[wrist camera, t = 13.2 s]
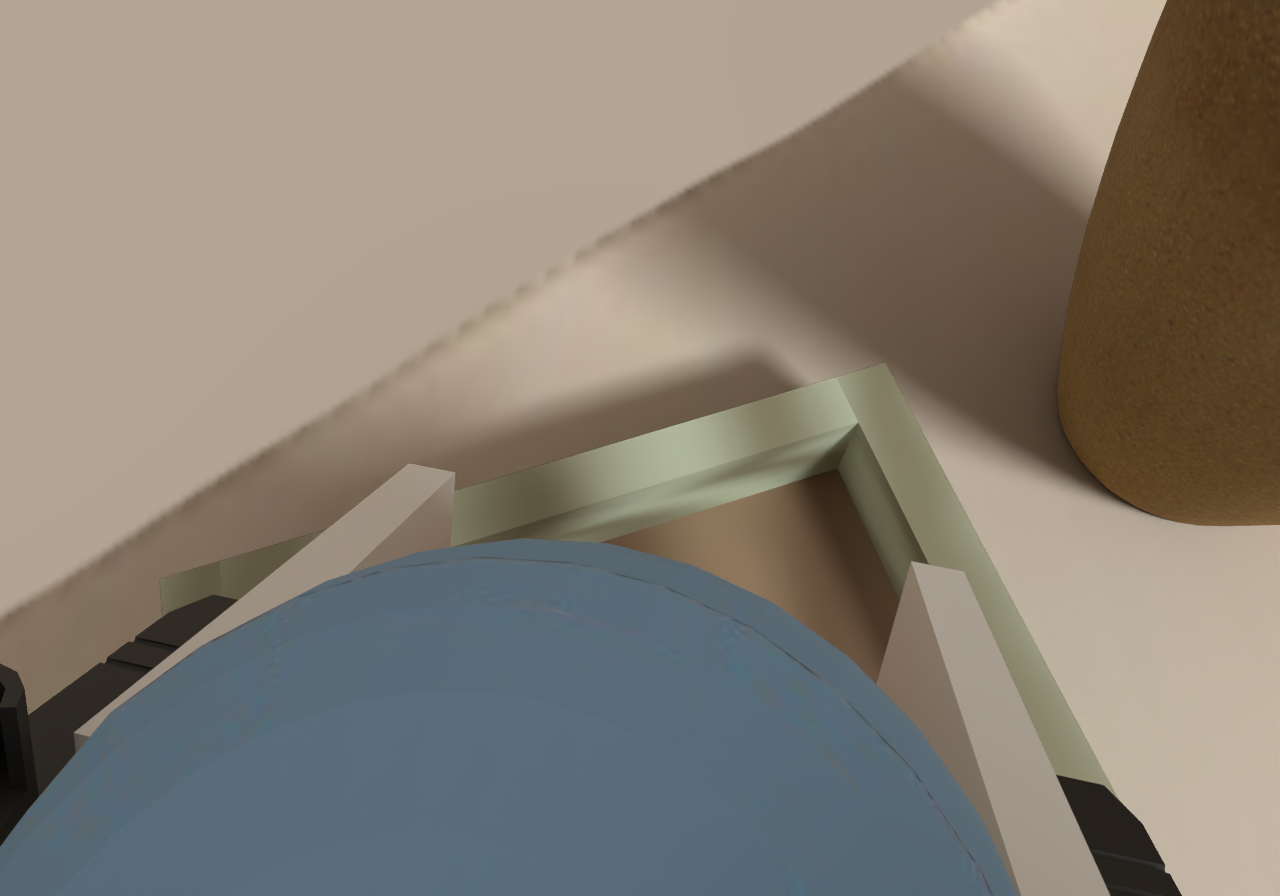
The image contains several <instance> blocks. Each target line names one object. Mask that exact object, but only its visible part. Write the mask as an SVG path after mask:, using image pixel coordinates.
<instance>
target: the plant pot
mask: <svg viewBox="0 0 1280 896" xmlns="http://www.w3.org/2000/svg"><path fill="white" fill-rule="evenodd" d="M1057 403H1058V414H1059V418H1060V421H1061V424H1062V428H1063V430H1064V433H1065V435H1066V437H1067V439H1068V441H1069V443H1070V445H1071V447H1072V448H1073V450H1074V451H1075V453H1076V455H1077V456H1078V458H1079V459H1080V460H1081V462H1082V463H1083V464H1084V465H1085V466H1086V467H1087V469H1088V470H1089V471H1090V472H1091V473H1092V474H1093V475H1094V476H1095V477H1096V478H1097V479H1098V480H1099V481H1100V482H1101V483H1102V484H1103V485H1104V486H1105V487H1106V488H1107V489H1109V490H1110V491H1112V492H1113V493H1114V494H1116V495H1117V496H1119V497H1120V498H1122V499H1123V500H1125V501H1127V502H1128V503H1130V504H1132V505H1134V506H1136V507H1138V508H1140V509H1142V510H1144V511H1146V512H1149V513H1151V514H1153V515H1156V516H1159V517H1162V518H1165V519H1168V520H1172V521H1175V522H1180V523H1187V524H1193V525H1203V526H1250V525H1280V0H1167V2H1166V4H1165V7H1164V9H1163V11H1162V14H1161V16H1160V19H1159V21H1158V23H1157V26H1156V28H1155V31H1154V34H1153V36H1152V39H1151V41H1150V44H1149V47H1148V49H1147V52H1146V54H1145V57H1144V60H1143V62H1142V65H1141V68H1140V70H1139V73H1138V76H1137V78H1136V81H1135V84H1134V86H1133V89H1132V92H1131V95H1130V97H1129V100H1128V103H1127V105H1126V108H1125V111H1124V114H1123V116H1122V119H1121V122H1120V124H1119V127H1118V130H1117V133H1116V136H1115V139H1114V142H1113V145H1112V148H1111V151H1110V154H1109V157H1108V160H1107V163H1106V166H1105V169H1104V172H1103V176H1102V179H1101V182H1100V185H1099V189H1098V192H1097V195H1096V198H1095V202H1094V205H1093V208H1092V212H1091V215H1090V218H1089V222H1088V225H1087V229H1086V233H1085V237H1084V241H1083V244H1082V248H1081V252H1080V256H1079V260H1078V264H1077V268H1076V273H1075V277H1074V281H1073V286H1072V290H1071V295H1070V300H1069V305H1068V310H1067V316H1066V322H1065V328H1064V334H1063V342H1062V350H1061V358H1060V365H1059V375H1058V386H1057Z"/></svg>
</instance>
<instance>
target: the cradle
mask: <svg viewBox="0 0 1280 896" xmlns="http://www.w3.org/2000/svg"><path fill="white" fill-rule="evenodd" d="M324 531H325V530H322V531H319V532H316V533H312V534H309V535H306V536H302V537H299V538H295V539H292V540H289V541H285V542H282V543H279V544H275V545H272V546H269V547H265V548H262V549H259V550H255V551H252V552H249V553H245V554H242V555H239V556H235V557H232V558H228V559H225V560H222V561H218V562H215V563H212V564H208V565H205V566H202V567H198V568H195V569H192V570H188V571H185V572H182V573H178V574H175V575H172V576H168V577H165V578H161V579H160V593H161V607H162V617H163V616H165V615H166V614H167V613H169V612H171V611H173V610H176V609H178V608H181V607H183V606H186V605H188V604H191V603H193V602H196V601H198V600H201V599H203V598H206V597H208V596H211V595H213V594H214V595H218V596H223V597H227V598H232V599H237V600H239V599H241V598H242V597H243V596H244V595H246V594H247V593H248V592H249V591H251V590H252V589H253V588H254V587H256V586H257V585H258V584H259V583H261V582H262V581H263V580H264V579H266V578H267V577H268V576H269V575H271V574H272V573H273V572H274V571H275V570H277V569H278V568H279V567H280V566H282V565H283V564H284V563H285V562H287V561H288V560H289V559H290V558H292V557H293V556H294V555H295V554H297V553H298V552H299V551H300V550H302V549H303V548H304V547H305V546H307V545H308V544H309V543H310V542H312V541H313V540H314V539H315V538H317V537H318V536H319V535H320V534H322V533H323V532H324ZM521 538H529V539H545V540H561V541H577V542H593V543H609V544H613V545H617V546H621V547H624V548H628V549H632V550H636V551H640V552H644V553H648V554H652V555H656V556H660V557H664V558H668V559H671V560H675V561H679V562H683V563H687V564H691V565H694V566H696V567H698V568H700V569H702V570H704V571H707V572H709V573H711V574H713V575H715V576H717V577H719V578H722V579H724V580H726V581H728V582H730V583H732V584H734V585H736V586H739V587H741V588H743V589H745V590H747V591H749V592H751V593H754V594H756V595H758V596H760V597H762V598H764V599H766V600H769V601H771V602H773V603H774V604H776V605H777V606H778V607H780V608H781V609H783V610H784V611H785V612H787V613H788V614H790V615H791V616H792V617H794V618H795V619H797V620H798V621H799V622H801V623H802V624H804V625H805V626H806V627H808V628H809V629H811V630H812V631H813V632H815V633H816V634H818V635H819V636H820V637H822V638H823V639H825V640H826V641H827V642H829V643H830V644H832V645H833V646H834V647H836V648H837V649H839V650H840V651H841V652H843V653H844V654H846V655H847V656H848V657H850V658H851V659H852V660H853V661H854V662H855V663H856V664H857V665H858V666H859V668H860V669H861V670H862V671H863V672H864V673H865V674H866V675H867V676H868V677H869V678H870V679H871V680H872V681H873V682H874V683H875V684H877V680H878V677H879V673H880V670H881V666H882V663H883V659H884V656H885V652H886V648H887V645H888V641H889V638H890V634H891V631H892V627H893V624H894V620H895V617H896V613H897V610H898V606H899V602H900V599H901V595H902V592H903V588H904V585H905V581H906V578H907V574H908V571H909V567H910V563H911V561H913V562H918V563H923V564H928V565H933V566H938V567H943V568H949V569H954V570H959V571H964V573H965V575H966V577H967V579H968V582H969V584H970V586H971V588H972V590H973V593H974V595H975V597H976V599H977V601H978V604H979V606H980V608H981V610H982V613H983V615H984V617H985V619H986V621H987V624H988V626H989V628H990V630H991V633H992V635H993V637H994V639H995V641H996V644H997V646H998V648H999V650H1000V652H1001V655H1002V657H1003V659H1004V661H1005V664H1006V666H1007V668H1008V670H1009V672H1010V675H1011V677H1012V679H1013V681H1014V683H1015V686H1016V688H1017V690H1018V692H1019V695H1020V697H1021V699H1022V701H1023V703H1024V706H1025V708H1026V710H1027V712H1028V714H1029V717H1030V719H1031V721H1032V723H1033V726H1034V728H1035V730H1036V732H1037V734H1038V737H1039V739H1040V741H1041V743H1042V746H1043V748H1044V750H1045V752H1046V754H1047V757H1048V759H1049V761H1050V763H1051V765H1052V768H1053V770H1054V772H1055V774H1056V775H1060V776H1065V777H1069V778H1074V779H1078V780H1083V781H1088V782H1092V783H1097V784H1101V785H1104V786H1105V787H1106V788H1107V789H1108V790H1109V791H1110V792H1111V793H1112V794H1113V795H1114V796H1115V797H1116V798H1117V796H1116V794H1115V792H1114V790H1113V788H1112V786H1111V785H1110V783H1109V781H1108V779H1107V777H1106V775H1105V773H1104V771H1103V770H1102V768H1101V766H1100V764H1099V762H1098V760H1097V758H1096V756H1095V754H1094V753H1093V751H1092V749H1091V747H1090V745H1089V743H1088V741H1087V739H1086V738H1085V736H1084V734H1083V732H1082V730H1081V728H1080V726H1079V724H1078V723H1077V721H1076V719H1075V717H1074V715H1073V713H1072V711H1071V709H1070V708H1069V706H1068V704H1067V702H1066V700H1065V698H1064V696H1063V694H1062V693H1061V691H1060V689H1059V687H1058V685H1057V683H1056V681H1055V679H1054V678H1053V676H1052V674H1051V672H1050V670H1049V668H1048V666H1047V664H1046V663H1045V661H1044V659H1043V657H1042V655H1041V653H1040V651H1039V649H1038V648H1037V646H1036V644H1035V642H1034V640H1033V638H1032V636H1031V634H1030V633H1029V631H1028V629H1027V627H1026V625H1025V623H1024V621H1023V619H1022V618H1021V616H1020V614H1019V612H1018V610H1017V608H1016V606H1015V604H1014V603H1013V601H1012V599H1011V597H1010V595H1009V593H1008V591H1007V589H1006V588H1005V586H1004V584H1003V582H1002V580H1001V578H1000V576H999V574H998V573H997V571H996V569H995V567H994V565H993V563H992V561H991V559H990V558H989V556H988V554H987V552H986V550H985V548H984V546H983V544H982V543H981V541H980V539H979V537H978V535H977V533H976V531H975V529H974V528H973V526H972V524H971V522H970V520H969V518H968V516H967V514H966V513H965V511H964V509H963V507H962V505H961V503H960V501H959V499H958V498H957V496H956V494H955V492H954V490H953V488H952V486H951V484H950V483H949V481H948V479H947V477H946V475H945V473H944V471H943V469H942V468H941V466H940V464H939V462H938V460H937V458H936V456H935V454H934V453H933V451H932V449H931V447H930V445H929V443H928V441H927V439H926V438H925V436H924V434H923V432H922V430H921V428H920V426H919V424H918V423H917V421H916V419H915V417H914V415H913V413H912V411H911V409H910V408H909V406H908V404H907V402H906V400H905V398H904V396H903V394H902V393H901V391H900V389H899V387H898V385H897V383H896V381H895V379H894V378H893V376H892V374H891V372H890V370H889V368H888V366H887V364H886V363H882V364H878V365H875V366H872V367H868V368H865V369H862V370H858V371H855V372H852V373H848V374H845V375H842V376H838V377H835V378H831V379H828V380H825V381H821V382H818V383H815V384H811V385H808V386H805V387H801V388H798V389H795V390H791V391H788V392H785V393H781V394H778V395H775V396H771V397H768V398H764V399H761V400H758V401H754V402H751V403H748V404H744V405H741V406H738V407H734V408H731V409H728V410H724V411H721V412H718V413H714V414H711V415H708V416H704V417H701V418H697V419H694V420H691V421H687V422H684V423H681V424H677V425H674V426H671V427H667V428H664V429H661V430H657V431H654V432H651V433H647V434H644V435H641V436H637V437H634V438H630V439H627V440H624V441H620V442H617V443H614V444H610V445H607V446H604V447H600V448H597V449H594V450H590V451H587V452H584V453H580V454H577V455H574V456H570V457H567V458H563V459H560V460H557V461H553V462H550V463H547V464H543V465H540V466H537V467H533V468H530V469H527V470H523V471H520V472H517V473H513V474H510V475H507V476H503V477H500V478H496V479H493V480H490V481H486V482H483V483H480V484H476V485H473V486H470V487H466V488H463V489H460V490H456V491H454V501H453V516H452V530H451V545H450V547H457V546H465V545H473V544H481V543H489V542H497V541H505V540H513V539H521ZM1117 799H1118V798H1117Z"/></svg>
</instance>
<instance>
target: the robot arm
mask: <svg viewBox="0 0 1280 896" xmlns="http://www.w3.org/2000/svg"><path fill="white" fill-rule="evenodd" d="M454 487H455V472H451V471H446V470H441V469H436V468H431V467H426V466H421V465H415V464H410V463H409V464H407V465H406V466H405V467H404V468H402V469H401V470H400V471H399V472H397V473H396V474H395V475H394V476H392V477H391V478H390V479H389V480H387V481H386V482H385V483H384V484H382V485H381V486H380V487H379V488H378V489H376V490H375V491H374V492H373V493H371V494H370V495H369V496H368V497H366V498H365V499H364V500H363V501H361V502H360V503H359V504H358V505H356V506H355V507H354V508H353V509H351V510H350V511H349V512H348V513H346V514H345V515H344V516H343V517H341V518H340V519H339V520H338V521H336V522H335V523H334V524H333V525H331V526H330V527H329V528H328V529H326V530H325V531H324V532H323V533H322V534H320V535H319V536H318V537H317V538H315V539H314V540H313V541H312V542H310V543H309V544H308V545H307V546H305V547H304V548H303V549H302V550H300V551H299V552H298V553H297V554H295V555H294V556H293V557H292V558H290V559H289V560H288V561H287V562H285V563H284V564H283V565H282V566H280V567H279V568H278V569H277V570H275V571H274V572H273V573H272V574H271V575H269V576H268V577H267V578H266V579H264V580H263V581H262V582H261V583H259V584H258V585H257V586H256V587H254V588H253V589H252V590H251V591H249V592H248V593H247V594H246V595H244V596H243V597H242V598H241V599H239V600H237V599H232V598H227V597H223V596H218V595H214V594H213V595H211V596H208V597H206V598H203V599H201V600H198V601H196V602H193V603H191V604H188V605H186V606H183V607H181V608H178V609H176V610H173V611H171V612H169V613H167V614H166V615H165V616H163V617H162V618H160V619H159V620H158V621H156V622H155V623H154V624H152V625H151V626H149V627H148V628H147V629H145V630H144V631H143V632H141V633H140V634H139V635H137V636H136V638H135V641H134V642H128V643H126V644H125V645H124V646H122V647H121V648H119V649H118V650H117V651H115V652H114V653H113V654H111V655H110V656H109V657H107V661H106V663H105V664H103V663H99V664H98V665H96V666H95V667H93V668H92V669H91V670H89V671H88V672H87V673H85V674H84V675H83V676H81V677H80V678H78V679H77V680H76V681H74V682H73V683H72V684H70V685H69V686H68V687H66V688H65V689H63V690H62V691H61V692H59V693H58V694H57V695H55V696H54V697H52V698H51V699H50V700H48V701H47V702H46V703H44V704H43V705H42V706H40V707H39V708H37V709H36V710H35V711H33V712H32V713H31V714H29V715H28V712H27V705H26V697H25V690H24V686H23V684H22V682H21V680H20V677H19V675H18V673H17V672H16V671H14V670H12V669H10V668H8V667H6V666H4V665H2V664H0V846H1V845H2V844H3V842H4V841H5V840H6V838H7V837H8V836H9V834H10V833H11V832H12V830H13V829H14V828H15V826H16V825H17V824H18V822H19V821H20V820H21V818H22V817H23V815H24V814H25V813H26V812H27V810H28V809H29V808H30V807H31V806H32V804H33V803H34V802H35V801H36V800H37V799H38V797H39V796H40V795H41V794H42V793H43V791H44V790H45V789H46V788H47V787H48V786H49V784H50V783H51V782H52V781H53V780H54V778H55V777H56V776H57V775H58V774H59V773H60V771H61V770H62V769H63V768H64V767H65V765H66V764H67V763H68V762H69V761H70V760H71V758H72V757H73V756H74V755H75V754H76V752H77V751H78V750H79V749H80V748H81V747H82V745H83V744H84V743H85V742H86V741H87V739H88V738H89V737H90V736H91V735H92V734H93V732H94V731H95V730H96V729H97V728H98V726H99V725H100V724H101V723H102V722H103V721H104V719H105V718H106V717H107V716H108V715H109V713H110V712H112V711H113V710H114V709H116V708H117V707H118V706H120V705H121V704H123V703H124V702H125V701H127V700H128V699H129V698H131V697H132V696H133V695H135V694H136V693H137V692H139V691H140V690H142V689H143V688H144V687H146V686H147V685H148V684H150V683H151V682H152V681H154V680H155V679H157V678H158V677H159V676H161V675H162V674H163V673H165V672H166V671H167V670H169V669H170V668H172V667H173V666H174V665H176V664H177V663H178V662H180V661H181V660H182V659H184V658H185V657H186V656H188V655H189V654H191V653H192V652H193V651H195V650H196V649H197V648H199V647H200V646H202V645H204V644H206V643H207V642H209V641H211V640H213V639H215V638H217V637H219V636H221V635H223V634H225V633H227V632H229V631H231V630H233V629H235V628H236V627H238V626H239V625H241V624H243V623H245V622H247V621H249V620H251V619H253V618H255V617H257V616H259V615H261V614H263V613H265V612H267V611H269V610H271V609H273V608H275V607H277V606H278V605H280V604H282V603H284V602H286V601H288V600H290V599H292V598H294V597H296V596H298V595H300V594H302V593H304V592H306V591H308V590H310V589H312V588H314V587H315V586H317V585H319V584H321V583H323V582H325V581H328V580H331V579H334V578H337V577H340V576H344V575H347V574H350V573H353V572H356V571H359V570H363V569H366V568H369V567H372V566H375V565H379V564H382V563H385V562H388V561H391V560H395V559H398V558H401V557H404V556H407V555H411V554H414V553H417V552H423V551H429V550H434V549H441V548H449V547H450V545H451V530H452V516H453V501H454ZM876 685H877V686H878V687H879V688H880V689H881V690H882V691H883V692H884V693H885V694H886V695H887V696H888V697H889V698H890V699H891V700H892V701H893V702H894V703H895V704H896V705H897V706H898V708H899V709H900V710H901V711H902V712H903V713H904V714H905V715H906V716H907V717H908V718H909V719H910V720H911V721H912V722H913V723H914V724H915V725H916V726H917V727H918V728H919V729H920V730H921V732H922V733H923V735H924V736H925V737H926V739H927V740H928V742H929V743H930V745H931V746H932V748H933V749H934V751H935V752H936V753H937V755H938V756H939V758H940V759H941V761H942V762H943V764H944V765H945V766H946V768H947V769H948V771H949V772H950V774H951V775H952V777H953V778H954V780H955V781H956V782H957V784H958V785H959V787H960V788H961V790H962V791H963V793H964V794H965V796H966V797H967V798H968V800H969V801H970V803H971V804H972V806H973V807H974V809H975V810H976V811H977V813H978V814H979V816H980V817H981V819H982V820H983V822H984V824H985V827H986V829H987V831H988V833H989V835H990V837H991V839H992V841H993V844H994V846H995V848H996V850H997V852H998V854H999V856H1000V858H1001V860H1002V863H1003V865H1004V867H1005V869H1006V871H1007V873H1008V875H1009V877H1010V880H1011V882H1012V884H1013V886H1014V888H1015V890H1016V892H1017V894H1018V896H1182V895H1181V893H1180V891H1179V890H1178V888H1177V886H1176V884H1175V882H1174V881H1173V879H1172V877H1171V875H1170V874H1169V873H1165V864H1164V862H1163V861H1162V859H1161V857H1160V855H1159V853H1158V851H1157V850H1156V848H1155V846H1154V844H1153V842H1152V840H1151V839H1150V837H1149V835H1148V833H1147V831H1146V830H1145V828H1144V826H1143V824H1142V823H1141V822H1140V821H1139V820H1138V819H1137V818H1136V817H1135V816H1134V815H1133V814H1132V813H1131V812H1130V811H1129V810H1128V809H1127V808H1126V807H1125V806H1124V805H1123V804H1122V803H1121V802H1120V801H1119V800H1118V799H1117V798H1116V797H1115V796H1114V795H1113V794H1112V793H1111V792H1110V791H1109V790H1108V789H1107V788H1106V787H1105V786H1104V785H1101V784H1097V783H1092V782H1088V781H1083V780H1078V779H1074V778H1069V777H1065V776H1060V775H1056V774H1055V772H1054V770H1053V768H1052V765H1051V763H1050V761H1049V759H1048V757H1047V754H1046V752H1045V750H1044V748H1043V746H1042V743H1041V741H1040V739H1039V737H1038V734H1037V732H1036V730H1035V728H1034V726H1033V723H1032V721H1031V719H1030V717H1029V714H1028V712H1027V710H1026V708H1025V706H1024V703H1023V701H1022V699H1021V697H1020V695H1019V692H1018V690H1017V688H1016V686H1015V683H1014V681H1013V679H1012V677H1011V675H1010V672H1009V670H1008V668H1007V666H1006V664H1005V661H1004V659H1003V657H1002V655H1001V652H1000V650H999V648H998V646H997V644H996V641H995V639H994V637H993V635H992V633H991V630H990V628H989V626H988V624H987V621H986V619H985V617H984V615H983V613H982V610H981V608H980V606H979V604H978V601H977V599H976V597H975V595H974V593H973V590H972V588H971V586H970V584H969V582H968V579H967V577H966V575H965V573H964V571H959V570H954V569H949V568H943V567H938V566H933V565H928V564H923V563H918V562H913V561H911V563H910V567H909V571H908V574H907V578H906V581H905V585H904V588H903V592H902V595H901V599H900V602H899V606H898V610H897V613H896V617H895V620H894V624H893V627H892V631H891V634H890V638H889V641H888V645H887V648H886V652H885V656H884V659H883V663H882V666H881V670H880V673H879V677H878V680H877V684H876Z"/></svg>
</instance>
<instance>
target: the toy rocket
mask: <svg viewBox="0 0 1280 896" xmlns="http://www.w3.org/2000/svg"><path fill="white" fill-rule="evenodd" d="M0 896H1018V894H1017V892H1016V890H1015V888H1014V886H1013V884H1012V882H1011V880H1010V877H1009V875H1008V873H1007V871H1006V869H1005V867H1004V865H1003V863H1002V860H1001V858H1000V856H999V854H998V852H997V850H996V848H995V846H994V844H993V841H992V839H991V837H990V835H989V833H988V831H987V829H986V827H985V824H984V822H983V820H982V819H981V817H980V816H979V814H978V813H977V811H976V810H975V809H974V807H973V806H972V804H971V803H970V801H969V800H968V798H967V797H966V796H965V794H964V793H963V791H962V790H961V788H960V787H959V785H958V784H957V782H956V781H955V780H954V778H953V777H952V775H951V774H950V772H949V771H948V769H947V768H946V766H945V765H944V764H943V762H942V761H941V759H940V758H939V756H938V755H937V753H936V752H935V751H934V749H933V748H932V746H931V745H930V743H929V742H928V740H927V739H926V737H925V736H924V735H923V733H922V732H921V730H920V729H919V728H918V727H917V726H916V725H915V724H914V723H913V722H912V721H911V720H910V719H909V718H908V717H907V716H906V715H905V714H904V713H903V712H902V711H901V710H900V709H899V708H898V706H897V705H896V704H895V703H894V702H893V701H892V700H891V699H890V698H889V697H888V696H887V695H886V694H885V693H884V692H883V691H882V690H881V689H880V688H879V687H878V686H877V685H876V684H875V683H874V682H873V681H872V680H871V679H870V678H869V677H868V676H867V675H866V674H865V673H864V672H863V671H862V670H861V669H860V668H859V666H858V665H857V664H856V663H855V662H854V661H853V660H852V659H851V658H850V657H848V656H847V655H846V654H844V653H843V652H841V651H840V650H839V649H837V648H836V647H834V646H833V645H832V644H830V643H829V642H827V641H826V640H825V639H823V638H822V637H820V636H819V635H818V634H816V633H815V632H813V631H812V630H811V629H809V628H808V627H806V626H805V625H804V624H802V623H801V622H799V621H798V620H797V619H795V618H794V617H792V616H791V615H790V614H788V613H787V612H785V611H784V610H783V609H781V608H780V607H778V606H777V605H776V604H774V603H773V602H771V601H769V600H766V599H764V598H762V597H760V596H758V595H756V594H754V593H751V592H749V591H747V590H745V589H743V588H741V587H739V586H736V585H734V584H732V583H730V582H728V581H726V580H724V579H722V578H719V577H717V576H715V575H713V574H711V573H709V572H707V571H704V570H702V569H700V568H698V567H696V566H694V565H691V564H687V563H683V562H679V561H675V560H671V559H668V558H664V557H660V556H656V555H652V554H648V553H644V552H640V551H636V550H632V549H628V548H624V547H621V546H617V545H613V544H609V543H593V542H577V541H561V540H545V539H529V538H521V539H513V540H505V541H497V542H489V543H481V544H473V545H465V546H457V547H449V548H441V549H434V550H429V551H423V552H417V553H414V554H411V555H407V556H404V557H401V558H398V559H395V560H391V561H388V562H385V563H382V564H379V565H375V566H372V567H369V568H366V569H363V570H359V571H356V572H353V573H350V574H347V575H344V576H340V577H337V578H334V579H331V580H328V581H325V582H323V583H321V584H319V585H317V586H315V587H314V588H312V589H310V590H308V591H306V592H304V593H302V594H300V595H298V596H296V597H294V598H292V599H290V600H288V601H286V602H284V603H282V604H280V605H278V606H277V607H275V608H273V609H271V610H269V611H267V612H265V613H263V614H261V615H259V616H257V617H255V618H253V619H251V620H249V621H247V622H245V623H243V624H241V625H239V626H238V627H236V628H235V629H233V630H231V631H229V632H227V633H225V634H223V635H221V636H219V637H217V638H215V639H213V640H211V641H209V642H207V643H206V644H204V645H202V646H200V647H199V648H197V649H196V650H195V651H193V652H192V653H191V654H189V655H188V656H186V657H185V658H184V659H182V660H181V661H180V662H178V663H177V664H176V665H174V666H173V667H172V668H170V669H169V670H167V671H166V672H165V673H163V674H162V675H161V676H159V677H158V678H157V679H155V680H154V681H152V682H151V683H150V684H148V685H147V686H146V687H144V688H143V689H142V690H140V691H139V692H137V693H136V694H135V695H133V696H132V697H131V698H129V699H128V700H127V701H125V702H124V703H123V704H121V705H120V706H118V707H117V708H116V709H114V710H113V711H112V712H110V713H109V715H108V716H107V717H106V718H105V719H104V721H103V722H102V723H101V724H100V725H99V726H98V728H97V729H96V730H95V731H94V732H93V734H92V735H91V736H90V737H89V738H88V739H87V741H86V742H85V743H84V744H83V745H82V747H81V748H80V749H79V750H78V751H77V752H76V754H75V755H74V756H73V757H72V758H71V760H70V761H69V762H68V763H67V764H66V765H65V767H64V768H63V769H62V770H61V771H60V773H59V774H58V775H57V776H56V777H55V778H54V780H53V781H52V782H51V783H50V784H49V786H48V787H47V788H46V789H45V790H44V791H43V793H42V794H41V795H40V796H39V797H38V799H37V800H36V801H35V802H34V803H33V804H32V806H31V807H30V808H29V809H28V810H27V812H26V813H25V814H24V815H23V817H22V818H21V820H20V821H19V822H18V824H17V825H16V826H15V828H14V829H13V830H12V832H11V833H10V834H9V836H8V837H7V838H6V840H5V841H4V842H3V844H2V845H1V846H0Z"/></svg>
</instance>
